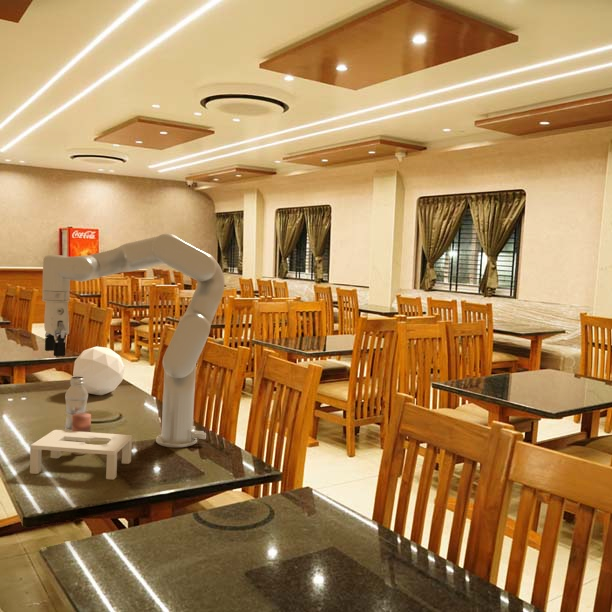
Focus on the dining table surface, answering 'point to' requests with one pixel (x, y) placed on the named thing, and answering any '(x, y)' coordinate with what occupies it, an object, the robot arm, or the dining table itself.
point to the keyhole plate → (82, 448)
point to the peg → (81, 425)
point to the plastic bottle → (75, 400)
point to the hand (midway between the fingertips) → (54, 353)
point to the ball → (99, 370)
